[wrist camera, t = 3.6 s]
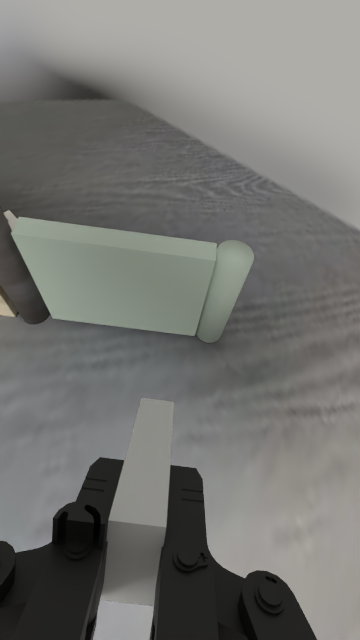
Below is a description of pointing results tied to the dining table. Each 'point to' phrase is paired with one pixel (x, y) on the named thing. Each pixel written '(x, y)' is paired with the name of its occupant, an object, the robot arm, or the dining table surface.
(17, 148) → the dining table surface
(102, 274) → the panel
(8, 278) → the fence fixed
